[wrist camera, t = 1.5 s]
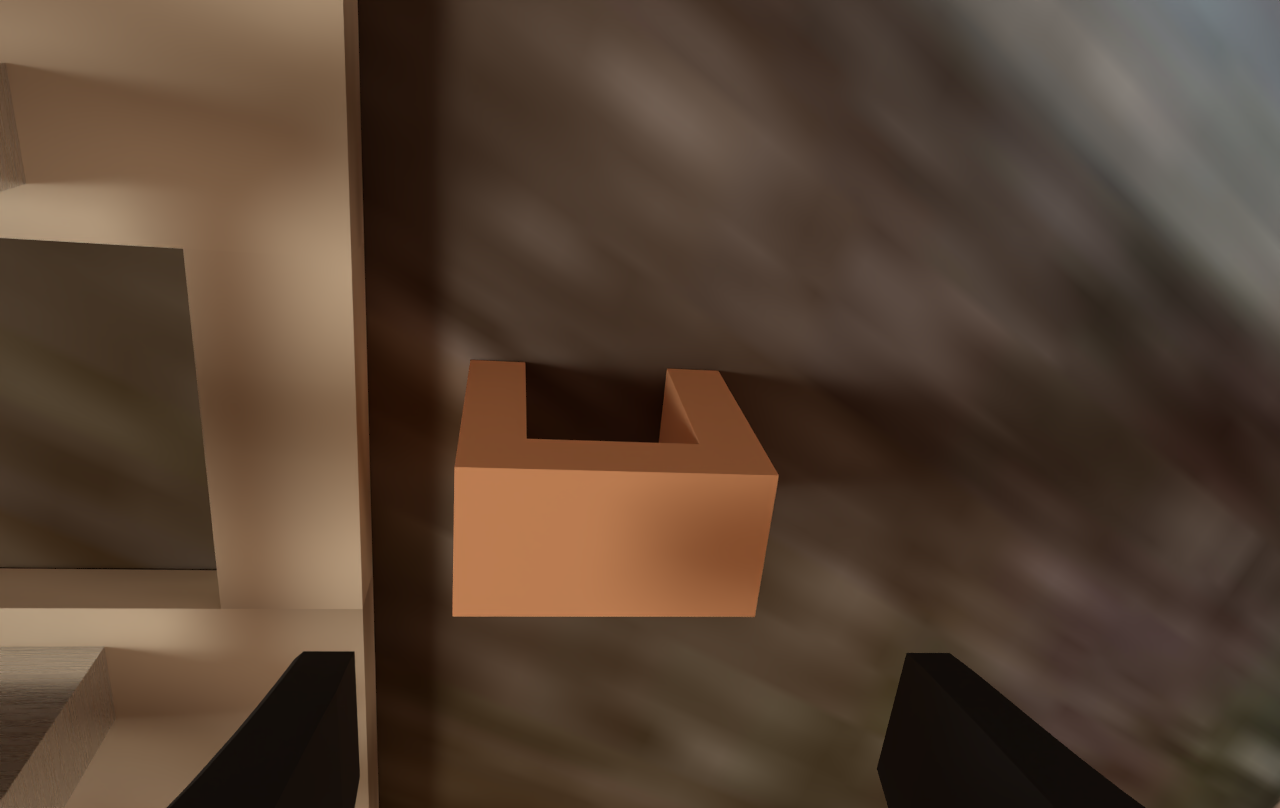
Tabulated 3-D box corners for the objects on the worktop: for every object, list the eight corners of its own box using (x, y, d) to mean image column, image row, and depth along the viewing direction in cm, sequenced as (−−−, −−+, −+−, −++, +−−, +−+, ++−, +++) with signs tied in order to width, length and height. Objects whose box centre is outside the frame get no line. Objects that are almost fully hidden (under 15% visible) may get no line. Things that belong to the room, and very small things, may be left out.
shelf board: (379, 819, 24) (370, 866, 23) (-198, 837, 22) (-245, 890, 21) (352, -222, 15) (335, -247, 14) (-633, -358, 13) (-769, -404, 12)
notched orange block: (702, 486, 21) (754, 616, 17) (468, 480, 21) (452, 616, 16) (718, 370, 20) (778, 475, 16) (470, 359, 19) (455, 467, 15)
